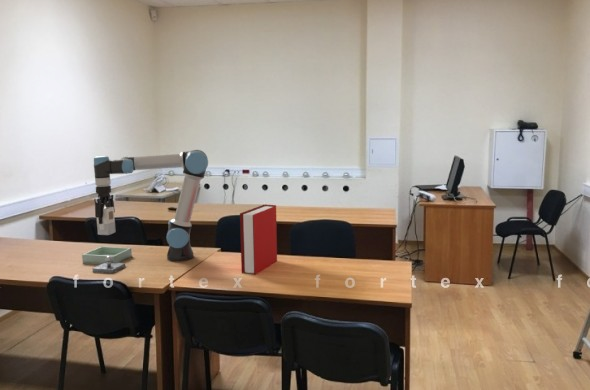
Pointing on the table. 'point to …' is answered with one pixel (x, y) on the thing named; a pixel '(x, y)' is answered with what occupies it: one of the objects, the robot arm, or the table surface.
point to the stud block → (108, 266)
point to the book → (258, 238)
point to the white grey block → (107, 221)
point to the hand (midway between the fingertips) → (106, 228)
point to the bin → (102, 252)
